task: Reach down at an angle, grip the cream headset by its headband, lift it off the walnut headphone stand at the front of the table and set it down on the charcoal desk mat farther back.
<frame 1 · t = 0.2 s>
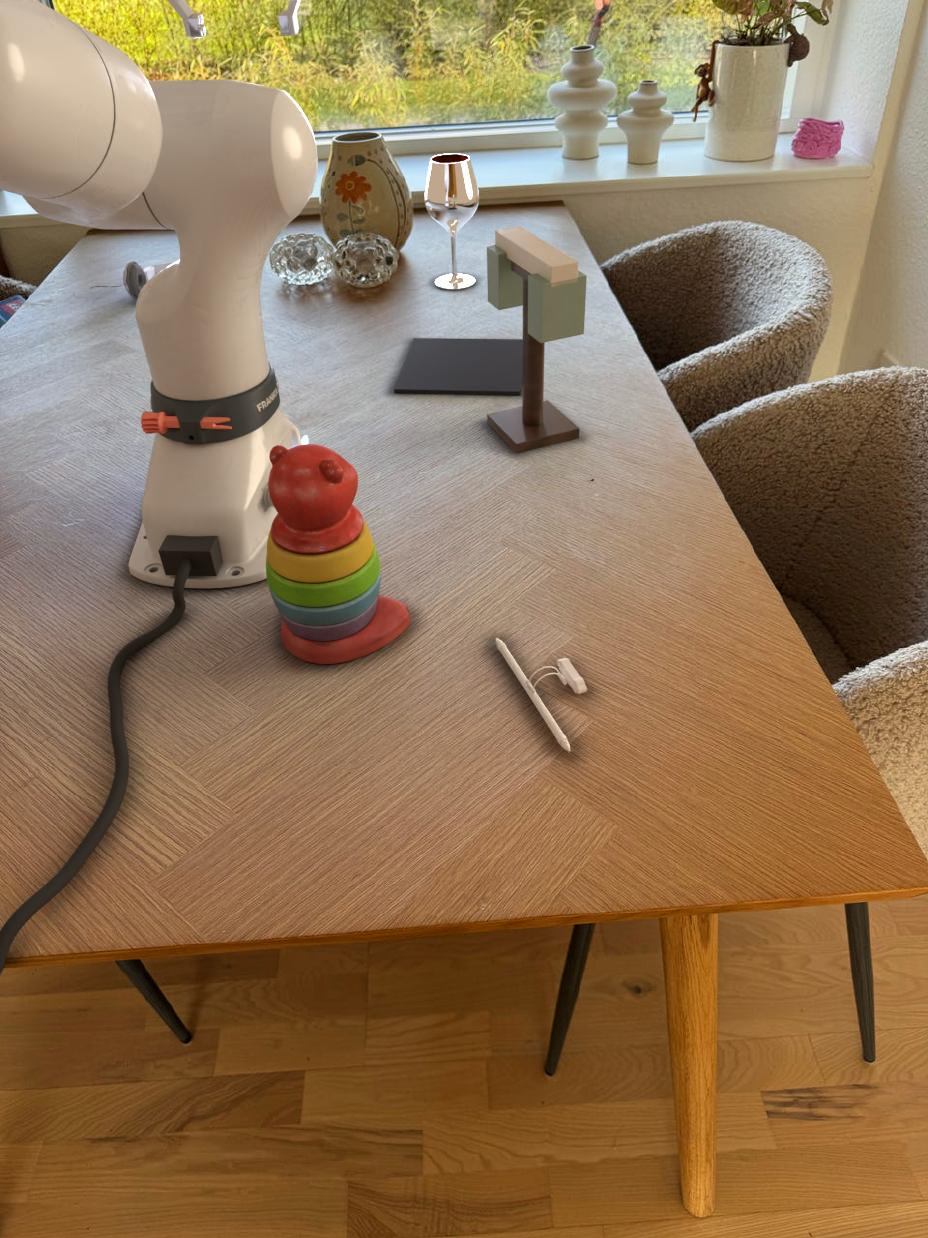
hand: (243, 35, 91), 39 cm above the table, tool pointing down, fingers open, 8 cm apart
stand: (532, 430, 108), on the table
wineglass: (455, 283, 146), on the table
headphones: (171, 293, 147), on the table
picture light: (550, 689, 74), on the table
headset: (534, 265, 95), point 19 cm above the table, touching stand
stacking bear: (337, 630, 81), on the table
desk mat: (464, 366, 122), on the table
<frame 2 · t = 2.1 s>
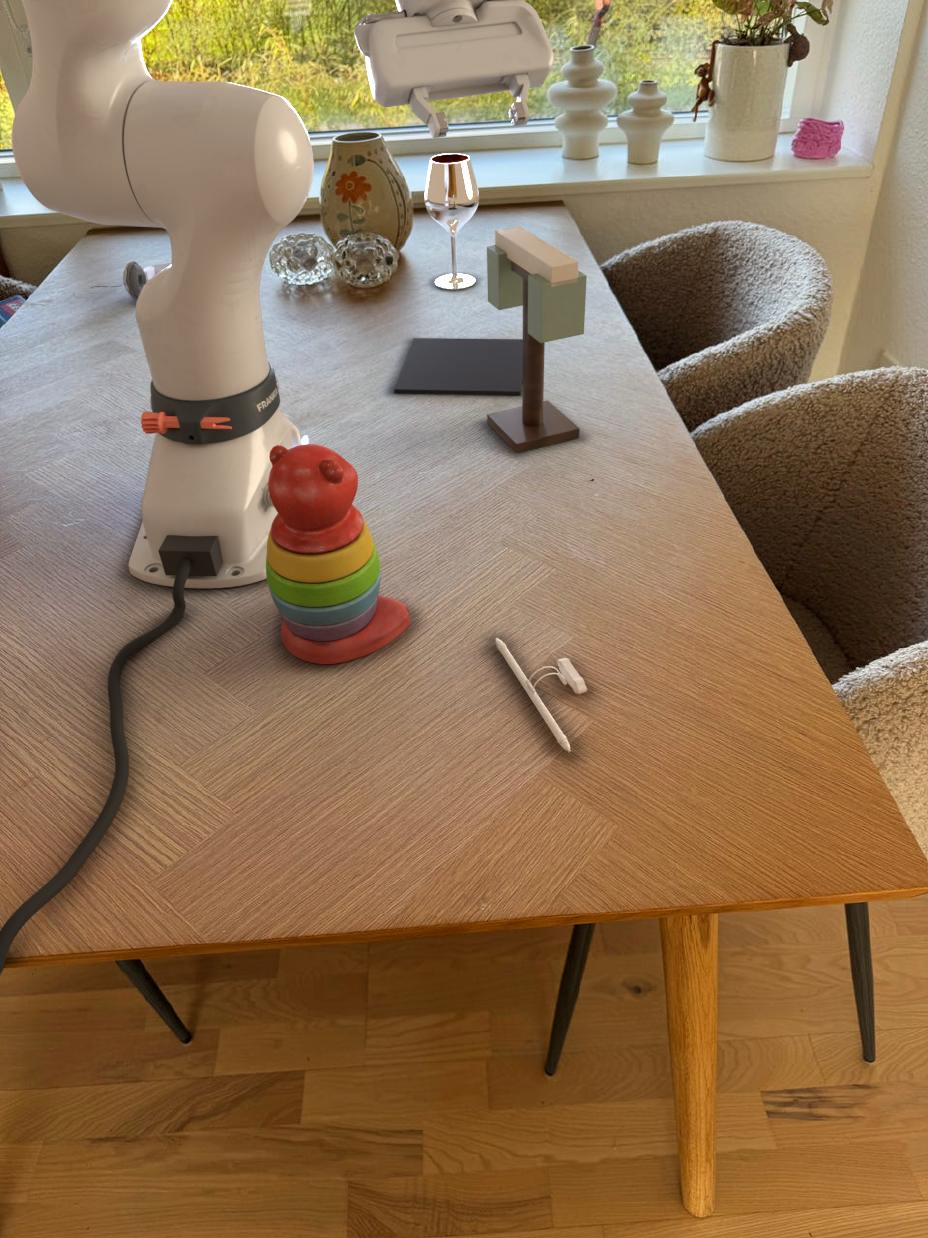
hand: (482, 128, 98), 30 cm above the table, tool tilted 45°, fingers open, 8 cm apart
nothing on the table moved.
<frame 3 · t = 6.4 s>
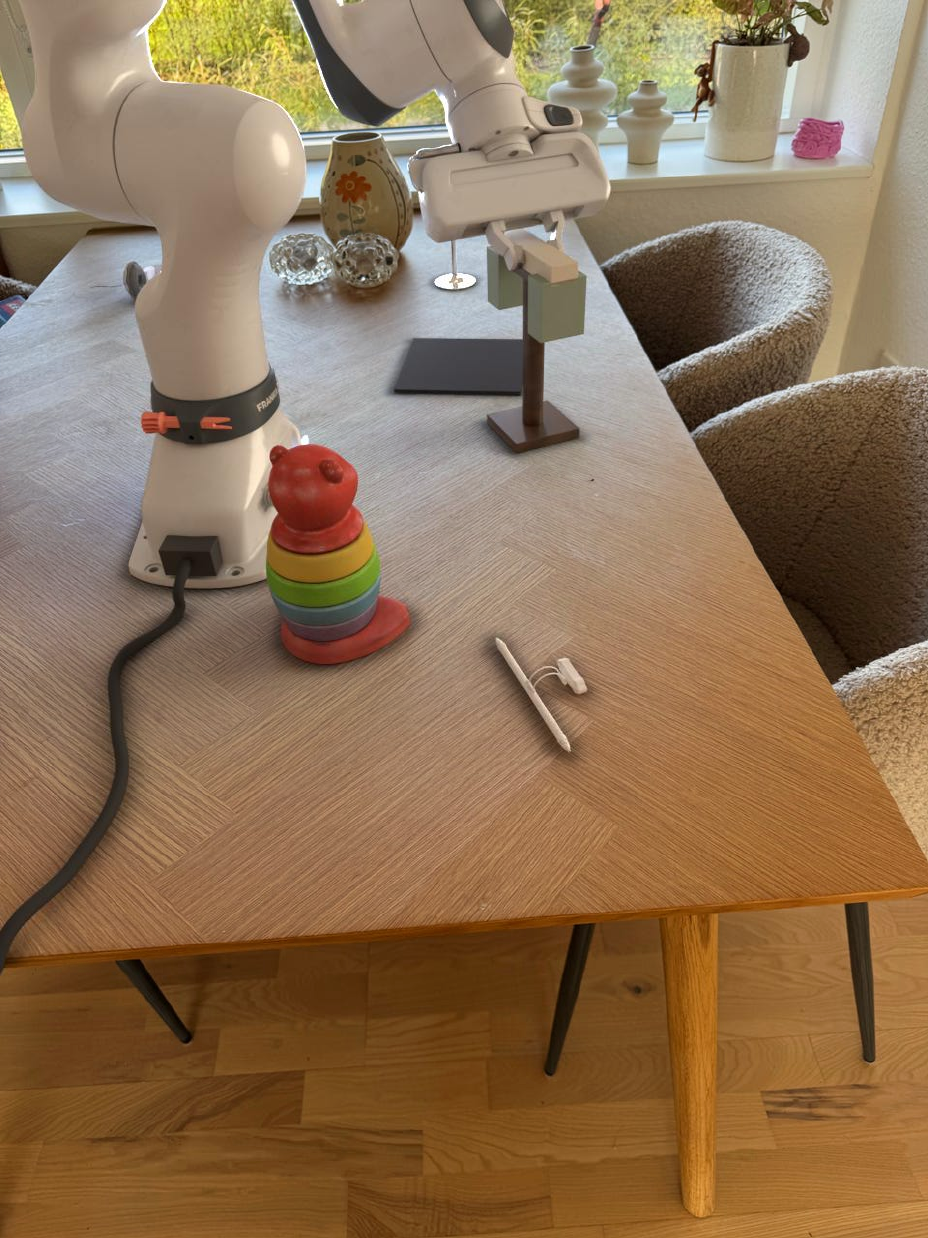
hand: (537, 263, 95), 19 cm above the table, tool tilted 45°, fingers closed on headset, stand, 3 cm apart
headset: (534, 265, 95), point 19 cm above the table, touching gripper, stand
everything else where it was.
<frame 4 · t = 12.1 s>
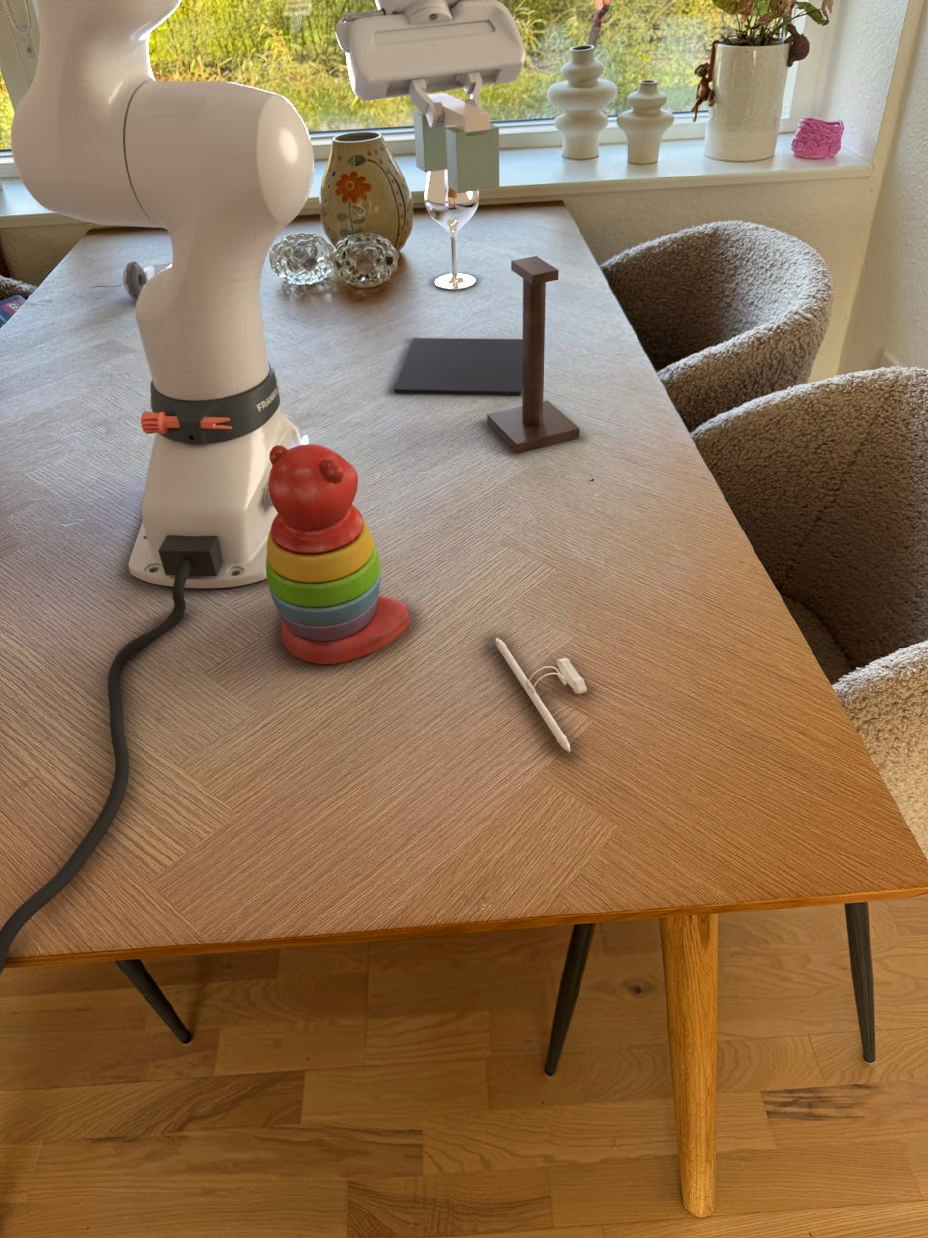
hand: (456, 120, 103), 29 cm above the table, tool tilted 45°, fingers closed on headset, 3 cm apart
headset: (454, 123, 103), point 29 cm above the table, touching gripper
everything else where it was.
when the fingers open (6 cm above the table, at t = 18.3 s): headset stays where it is, resting on desk mat.
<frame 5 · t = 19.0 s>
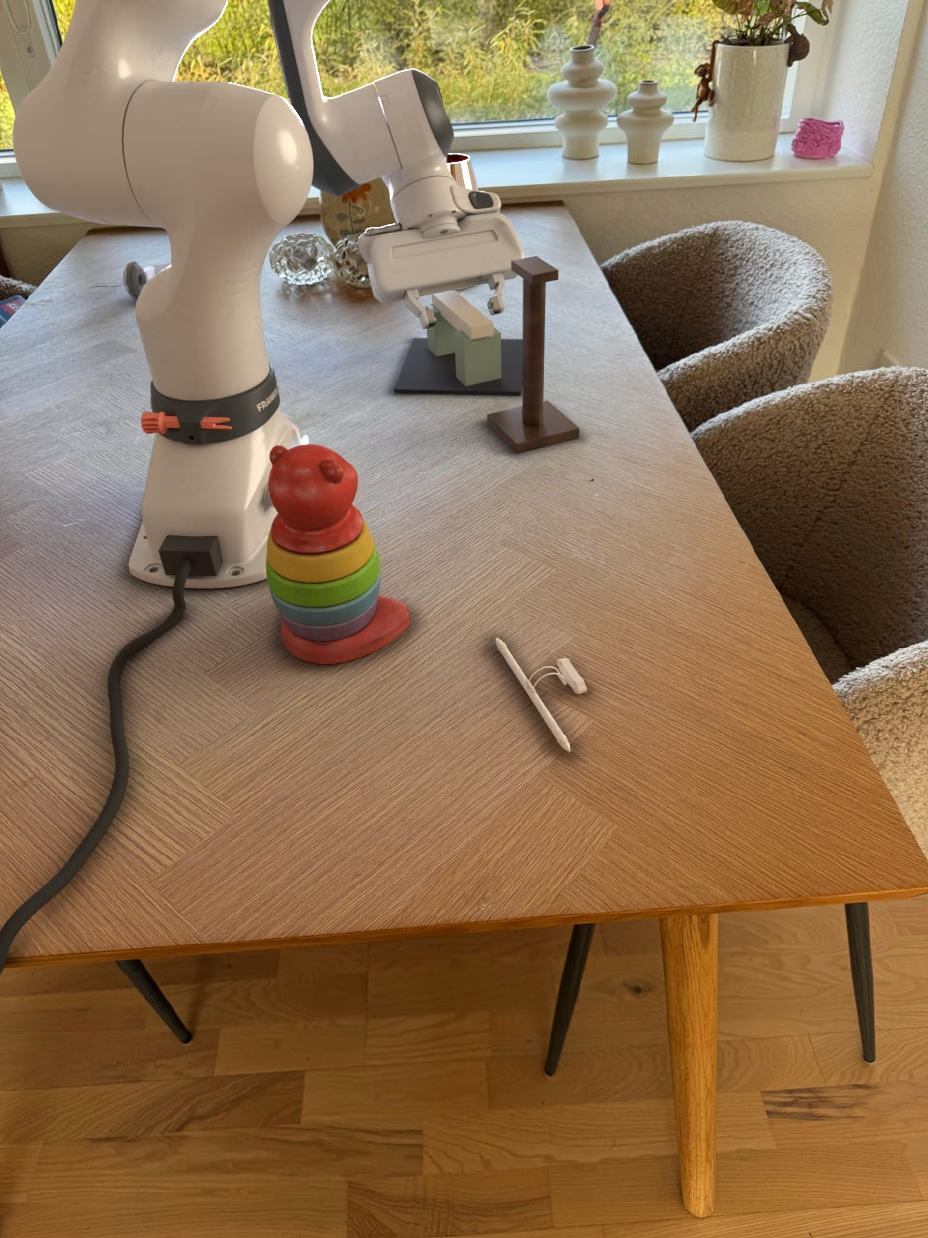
hand: (464, 319, 117), 7 cm above the table, tool tilted 45°, fingers open, 8 cm apart
headset: (461, 322, 118), point 6 cm above the table, touching desk mat
everything else where it was.
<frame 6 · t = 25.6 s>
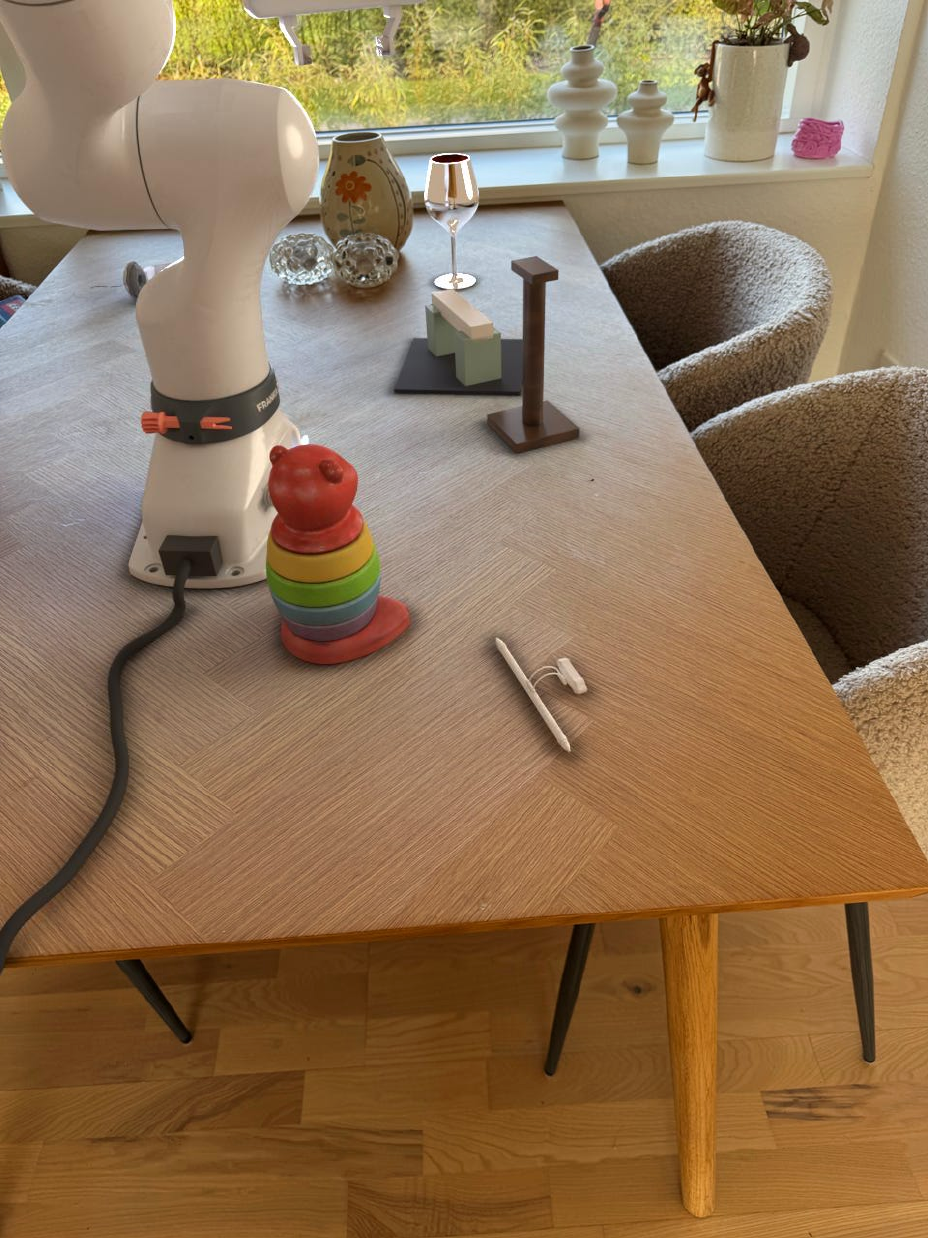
hand: (345, 59, 101), 35 cm above the table, tool pointing down, fingers open, 8 cm apart
nothing on the table moved.
at the end: headset inside the target area on the desk mat (0.1 cm from its centre), point 6.0 cm above the desk mat's base; headset tilted 0°; the gripper is holding nothing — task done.
